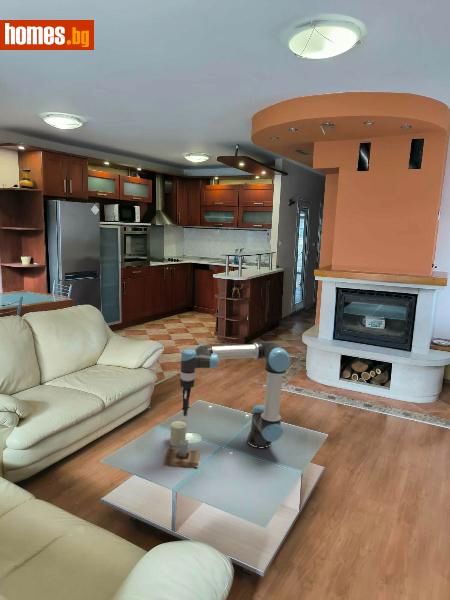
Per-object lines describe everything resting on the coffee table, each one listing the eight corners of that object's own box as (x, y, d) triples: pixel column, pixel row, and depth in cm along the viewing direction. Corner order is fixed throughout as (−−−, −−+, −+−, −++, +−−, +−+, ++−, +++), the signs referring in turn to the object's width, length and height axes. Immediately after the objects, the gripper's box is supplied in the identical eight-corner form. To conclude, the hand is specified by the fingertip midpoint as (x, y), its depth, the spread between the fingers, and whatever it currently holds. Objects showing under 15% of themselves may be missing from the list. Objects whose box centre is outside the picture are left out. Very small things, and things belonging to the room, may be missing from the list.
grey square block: (186, 458, 227) (187, 440, 225) (185, 463, 222) (187, 444, 220) (178, 457, 227) (179, 439, 225) (177, 462, 222) (178, 443, 220)
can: (182, 448, 237) (183, 428, 235) (167, 445, 239) (168, 426, 237) (187, 440, 246) (188, 421, 244) (172, 437, 248) (173, 419, 246)
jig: (199, 455, 230) (200, 447, 230) (197, 468, 219) (198, 459, 218) (167, 453, 231) (168, 445, 230) (164, 465, 219) (164, 456, 218)
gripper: (181, 373, 222) (179, 414, 227) (178, 383, 210) (176, 425, 214) (195, 374, 222) (193, 415, 227) (193, 384, 210) (190, 426, 214)
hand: (185, 420), depth 220 cm, fingers closed
